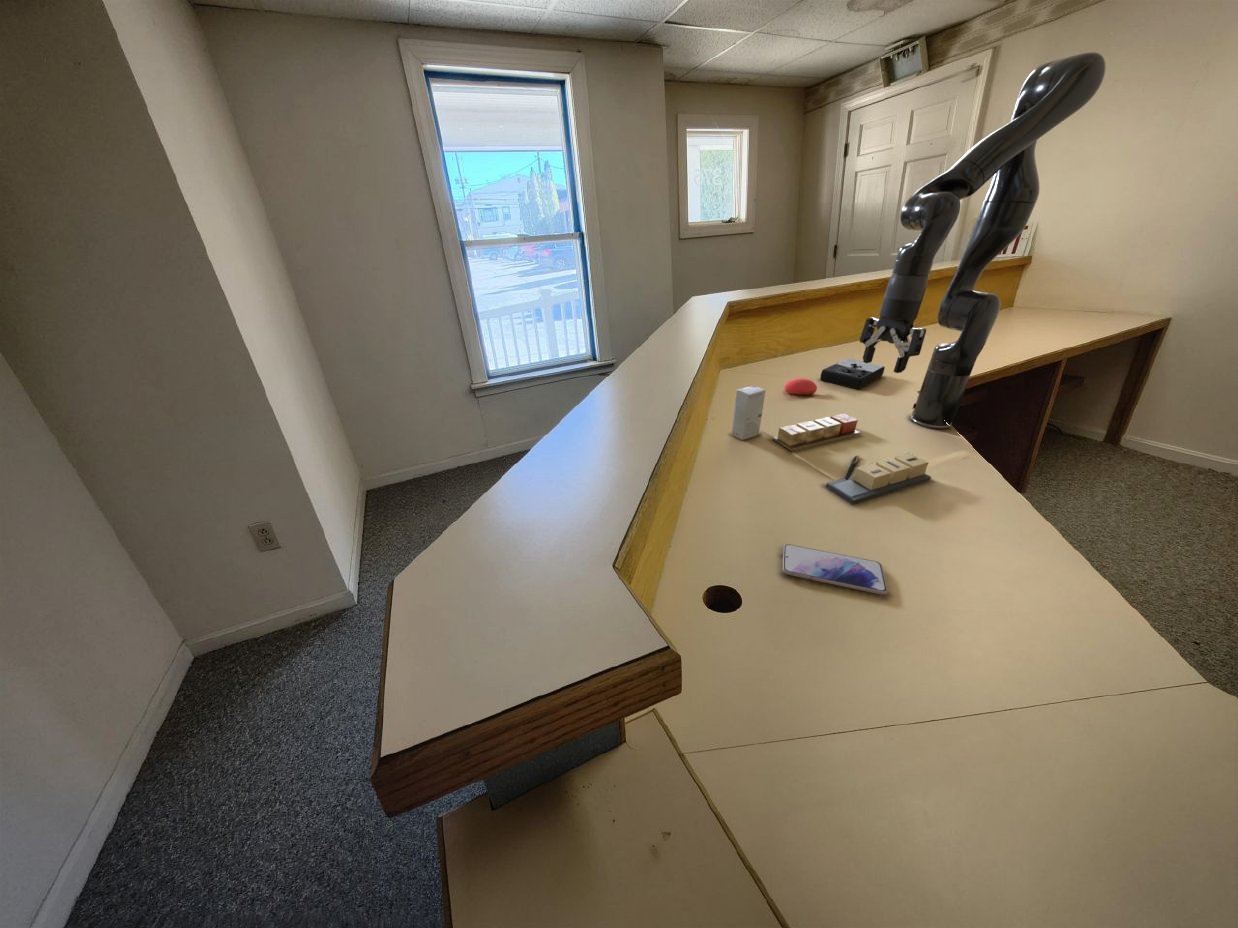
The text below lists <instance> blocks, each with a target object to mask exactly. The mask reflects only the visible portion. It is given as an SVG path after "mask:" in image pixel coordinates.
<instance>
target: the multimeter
mask: <svg viewBox="0 0 1238 928" xmlns="http://www.w3.org/2000/svg"><path fill="white" fill-rule="evenodd" d="M885 368H886V367H885V366H884V365H882V364H876V363H872V362H871V363H864V362H863V360H862V361H861V360H857V359H853V358H845V359H843V360H841V361H838V362H836V363H834V364H832V365H830V366H828V367H826V368H823V369H822V370H821V373H820V378H819V379H820V381H822V382H823V381H824V382H827V383H831V384H835V385H838V386H843V387H847V388H850V389H855V390H860V389H862V388H864V387H866V386H867V385H869V384H871V383H873V382H875V381H876V380H878V379H880V378H881V377H883V376H884V373H885Z"/></svg>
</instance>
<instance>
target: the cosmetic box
mask: <svg viewBox="0 0 1238 928" xmlns="http://www.w3.org/2000/svg"><path fill="white" fill-rule="evenodd" d="M765 396H766V389H764V388H761V387H758V386H755V385H750V386H746V387H742V388H738V389H736V394H735V402H734V410H733V418H732V426H731V435H732V436H733V437H735V438H738V439H740V440H742V441H743V440H747V439H750V438H754V437H756V436H758V435H759V434H760V428H761V423H762V417H763V410H764V402H765Z"/></svg>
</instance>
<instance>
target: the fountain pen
mask: <svg viewBox="0 0 1238 928" xmlns="http://www.w3.org/2000/svg"><path fill="white" fill-rule="evenodd" d="M859 459H860V455H859V454H857V455H855V456H854V457H853V458H852V460H851V462H850V465H849V467H848V469H847V471H846V474H845V477H844V478H845V479H847V480H848V479H849V477H850V476H852V474H853V473H854V470H855V469H856V466H857V464H858V462H859Z"/></svg>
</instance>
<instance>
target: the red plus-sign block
mask: <svg viewBox="0 0 1238 928" xmlns="http://www.w3.org/2000/svg"><path fill="white" fill-rule="evenodd" d="M830 418H831V419H833V420H835V421H837V422H839V423H841V427H840V431H839V433H841V434H842V433H847V432H851V431H855V430H856V428H857V425H858V420H859V419H857V418H855V417H852V416H851V415H848V414H846V413H840V414H836V415H831V416H830Z"/></svg>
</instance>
